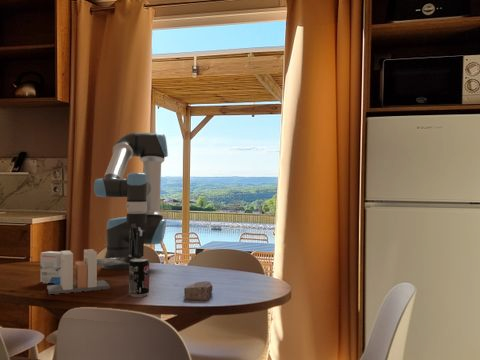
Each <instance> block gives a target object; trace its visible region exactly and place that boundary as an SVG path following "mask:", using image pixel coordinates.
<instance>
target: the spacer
mask: <svg viewBox="0 0 480 360" xmlns="http://www.w3.org/2000/svg"><path fill="white" fill-rule="evenodd" d="M74 283H75V285H76V286H77V288H83V287H87V264H86V263H85V262H84V260H82V261H74Z"/></svg>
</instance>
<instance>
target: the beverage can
mask: <svg viewBox="0 0 480 360" xmlns="http://www.w3.org/2000/svg"><path fill="white" fill-rule="evenodd" d="M128 276H129V277H128V294H129V295H130V297H131V298H133V297H134V298H142V297H146V296H148V294H149V293H150V262H149V259H148V258H143V257H142V258H139V259H131V260H130V263H129V269H128Z"/></svg>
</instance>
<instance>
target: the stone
mask: <svg viewBox="0 0 480 360" xmlns="http://www.w3.org/2000/svg"><path fill="white" fill-rule="evenodd" d="M212 292H213V285H212V282H211V281H198V282H197V281H196V282H195V283H192V284H189V285H186V286H185V287H184V298H185V299H186V300H188V301H189V300H190V301H192V300H196V301H197V300H198V301H208V299H209V297H210V296H211V294H212Z"/></svg>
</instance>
